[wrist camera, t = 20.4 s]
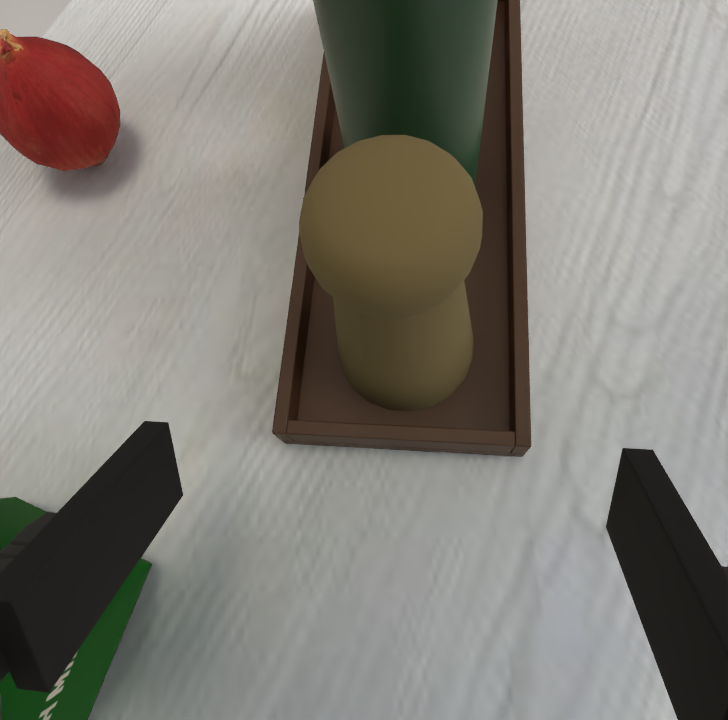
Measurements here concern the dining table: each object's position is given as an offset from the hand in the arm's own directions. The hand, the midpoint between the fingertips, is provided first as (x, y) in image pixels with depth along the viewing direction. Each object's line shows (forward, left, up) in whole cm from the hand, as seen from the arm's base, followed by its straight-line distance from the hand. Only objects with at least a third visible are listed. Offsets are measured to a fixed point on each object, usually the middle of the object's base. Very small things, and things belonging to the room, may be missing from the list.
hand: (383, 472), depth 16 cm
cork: (0, -7, -7) cm, 9 cm away
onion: (+18, -18, -7) cm, 26 cm away
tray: (0, -15, -7) cm, 17 cm away
